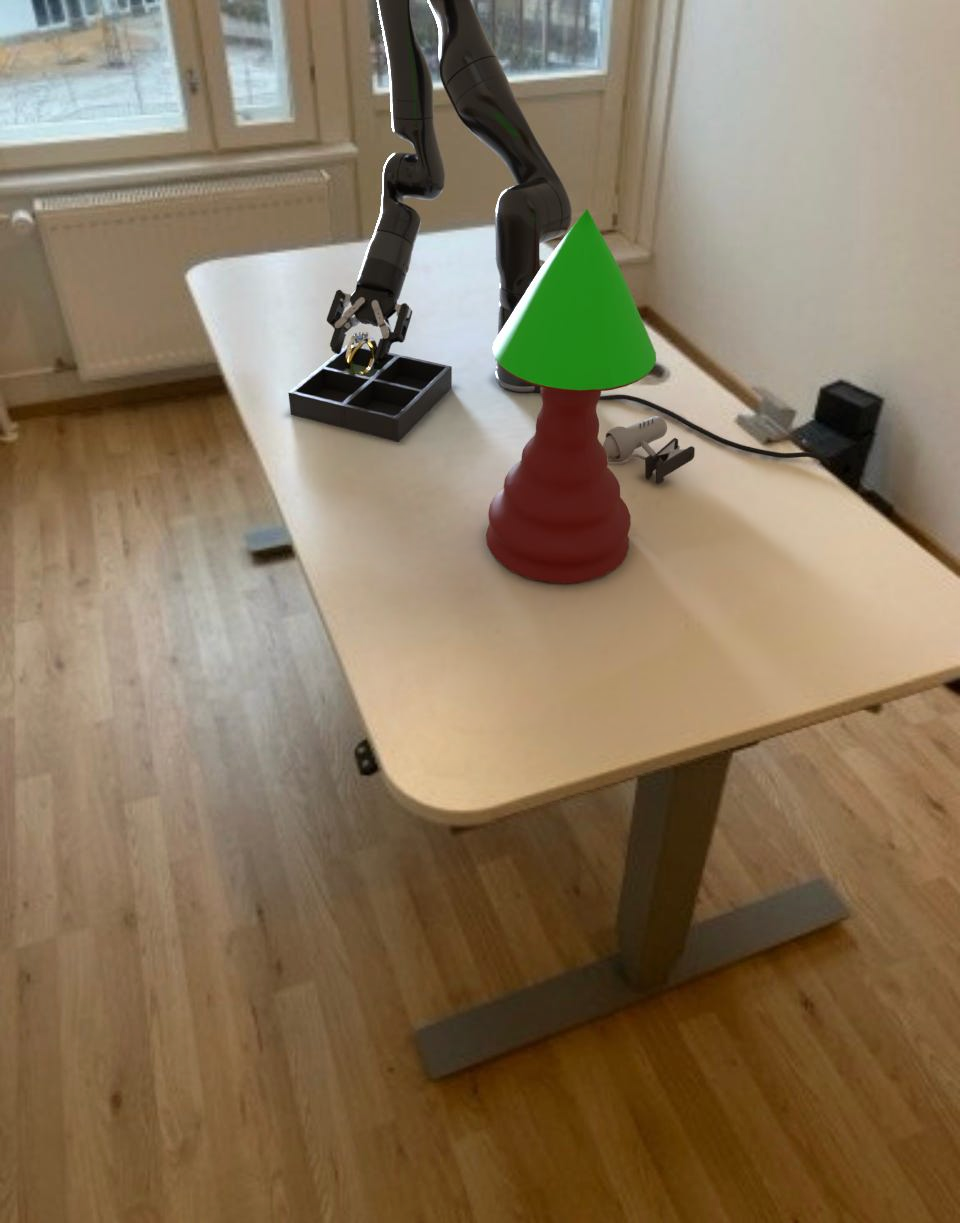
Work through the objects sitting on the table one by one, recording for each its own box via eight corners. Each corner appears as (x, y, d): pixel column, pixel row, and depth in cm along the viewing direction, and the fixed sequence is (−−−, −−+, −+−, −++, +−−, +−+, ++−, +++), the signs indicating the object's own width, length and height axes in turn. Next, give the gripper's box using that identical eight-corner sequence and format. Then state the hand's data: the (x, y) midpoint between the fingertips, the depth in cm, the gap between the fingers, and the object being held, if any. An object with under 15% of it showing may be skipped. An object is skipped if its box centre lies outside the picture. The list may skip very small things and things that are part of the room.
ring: (371, 367, 171) (368, 324, 166) (383, 373, 169) (381, 330, 164) (342, 381, 167) (338, 337, 162) (354, 387, 165) (351, 343, 160)
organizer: (451, 388, 168) (451, 366, 165) (398, 442, 154) (397, 419, 151) (350, 364, 173) (349, 343, 171) (290, 414, 159) (288, 392, 157)
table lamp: (541, 605, 124) (570, 255, 95) (458, 528, 136) (461, 197, 107) (658, 555, 133) (717, 220, 103) (570, 487, 145) (600, 170, 115)
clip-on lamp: (594, 515, 145) (698, 469, 147) (592, 484, 140) (699, 437, 143) (558, 469, 152) (657, 426, 155) (554, 438, 147) (657, 395, 150)
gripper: (339, 249, 163) (310, 340, 162) (415, 263, 159) (385, 357, 158) (357, 269, 170) (329, 357, 169) (430, 283, 166) (401, 373, 165)
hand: (356, 357), depth 164 cm, fingers open, 8 cm apart
